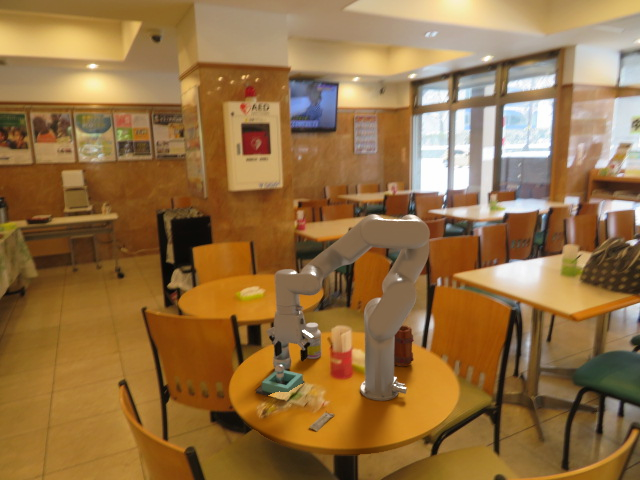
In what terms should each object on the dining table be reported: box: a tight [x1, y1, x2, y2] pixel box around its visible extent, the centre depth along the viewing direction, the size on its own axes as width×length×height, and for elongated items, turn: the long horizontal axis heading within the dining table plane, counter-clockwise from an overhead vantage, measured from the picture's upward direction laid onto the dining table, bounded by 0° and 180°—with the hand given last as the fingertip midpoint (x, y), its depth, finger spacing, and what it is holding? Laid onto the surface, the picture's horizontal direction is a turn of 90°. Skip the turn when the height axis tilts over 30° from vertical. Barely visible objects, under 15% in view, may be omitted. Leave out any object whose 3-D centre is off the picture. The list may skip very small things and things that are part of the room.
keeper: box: [255, 364, 305, 397], centre depth 147 cm, size 12×12×9 cm
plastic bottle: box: [272, 331, 292, 371], centre depth 160 cm, size 6×7×20 cm
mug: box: [394, 324, 415, 367], centre depth 163 cm, size 15×8×15 cm, turn 49°
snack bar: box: [308, 410, 335, 433], centre depth 129 cm, size 10×2×3 cm
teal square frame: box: [261, 370, 304, 393], centre depth 147 cm, size 10×10×3 cm
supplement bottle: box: [305, 322, 322, 360], centre depth 170 cm, size 7×7×13 cm
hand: (291, 357), depth 144 cm, fingers open, 9 cm apart
